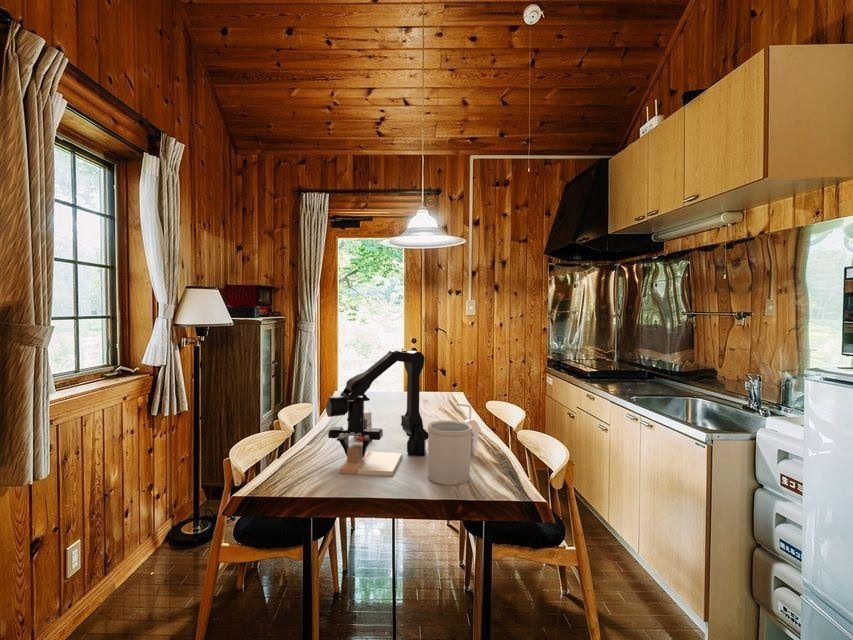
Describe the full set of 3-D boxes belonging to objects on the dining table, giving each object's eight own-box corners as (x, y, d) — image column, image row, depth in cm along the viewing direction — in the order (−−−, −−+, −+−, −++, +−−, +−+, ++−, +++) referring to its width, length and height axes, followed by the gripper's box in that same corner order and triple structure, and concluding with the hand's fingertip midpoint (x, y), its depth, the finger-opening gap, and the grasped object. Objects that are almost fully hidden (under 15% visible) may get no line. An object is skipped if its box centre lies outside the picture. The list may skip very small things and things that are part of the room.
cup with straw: (478, 459, 174) (479, 406, 173) (454, 457, 177) (455, 404, 176) (482, 452, 182) (483, 401, 182) (459, 450, 185) (460, 400, 184)
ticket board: (402, 457, 176) (402, 452, 176) (392, 475, 156) (392, 471, 156) (370, 455, 177) (370, 451, 177) (357, 474, 157) (357, 469, 157)
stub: (370, 455, 177) (370, 438, 177) (356, 473, 157) (356, 454, 157) (354, 454, 178) (354, 437, 178) (339, 472, 158) (339, 453, 158)
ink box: (372, 439, 199) (372, 412, 199) (361, 441, 196) (361, 413, 196) (363, 435, 206) (363, 408, 206) (352, 436, 203) (353, 409, 203)
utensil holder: (474, 472, 161) (474, 421, 160) (468, 488, 146) (469, 432, 146) (432, 468, 164) (433, 418, 164) (422, 483, 150) (423, 429, 149)
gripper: (385, 409, 174) (385, 451, 175) (337, 408, 176) (337, 449, 177) (379, 416, 163) (379, 460, 164) (327, 414, 165) (327, 458, 166)
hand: (355, 457), depth 168 cm, fingers open, 5 cm apart
